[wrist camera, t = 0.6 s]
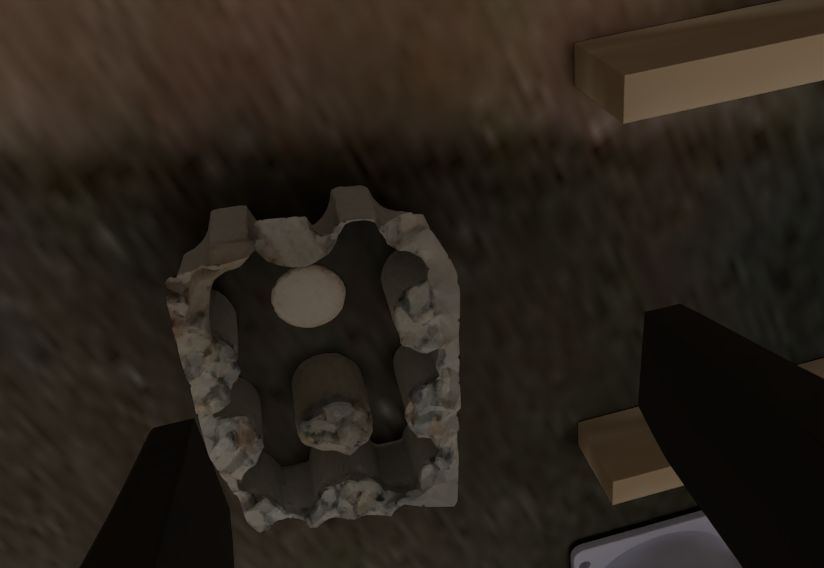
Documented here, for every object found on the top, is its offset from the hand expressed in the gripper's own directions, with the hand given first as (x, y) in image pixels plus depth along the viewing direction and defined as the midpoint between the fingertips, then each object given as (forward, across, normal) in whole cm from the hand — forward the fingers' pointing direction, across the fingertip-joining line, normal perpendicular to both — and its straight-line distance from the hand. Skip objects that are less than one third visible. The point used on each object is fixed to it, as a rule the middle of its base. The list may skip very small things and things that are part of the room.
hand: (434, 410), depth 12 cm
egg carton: (+11, +2, +6) cm, 12 cm away
